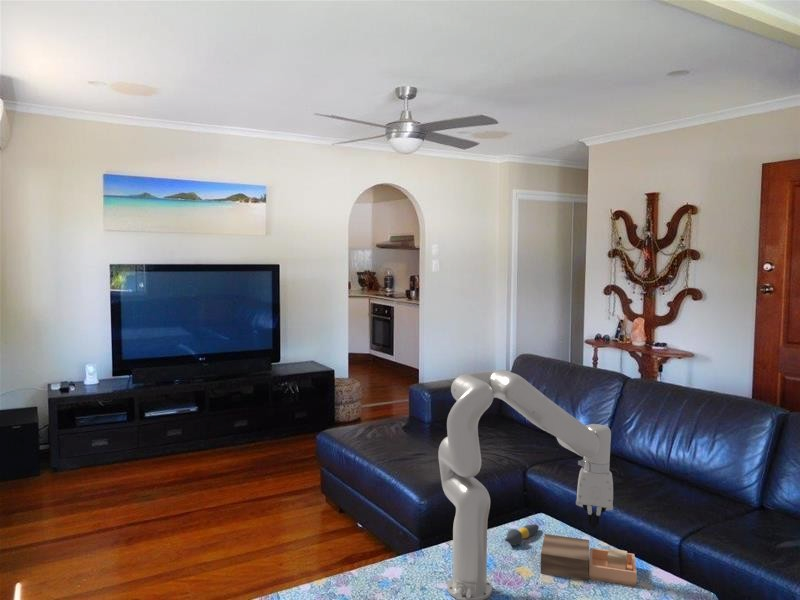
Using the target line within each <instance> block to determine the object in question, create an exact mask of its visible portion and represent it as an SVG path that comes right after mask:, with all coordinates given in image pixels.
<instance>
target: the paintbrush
mask: <svg viewBox="0 0 800 600" xmlns="http://www.w3.org/2000/svg"><path fill="white" fill-rule="evenodd" d="M539 527H540V526H539V525H538V524H534V523H533V524H526V525H524V526H522V527H520V528H519V529H517V528H515V529H510V530H509V531H508V532H507V534H506V538H505V539H504V541H505V542H507V543H508V544H510V545H512V546H519V545H520V544H521V543H522V541H523V539H528V538H530V537H532V536H534V535H535V534H536V533H537V532H538V531H539Z"/></svg>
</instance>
